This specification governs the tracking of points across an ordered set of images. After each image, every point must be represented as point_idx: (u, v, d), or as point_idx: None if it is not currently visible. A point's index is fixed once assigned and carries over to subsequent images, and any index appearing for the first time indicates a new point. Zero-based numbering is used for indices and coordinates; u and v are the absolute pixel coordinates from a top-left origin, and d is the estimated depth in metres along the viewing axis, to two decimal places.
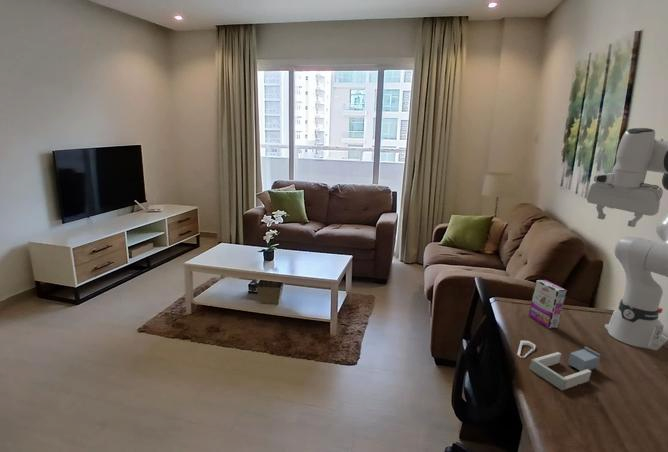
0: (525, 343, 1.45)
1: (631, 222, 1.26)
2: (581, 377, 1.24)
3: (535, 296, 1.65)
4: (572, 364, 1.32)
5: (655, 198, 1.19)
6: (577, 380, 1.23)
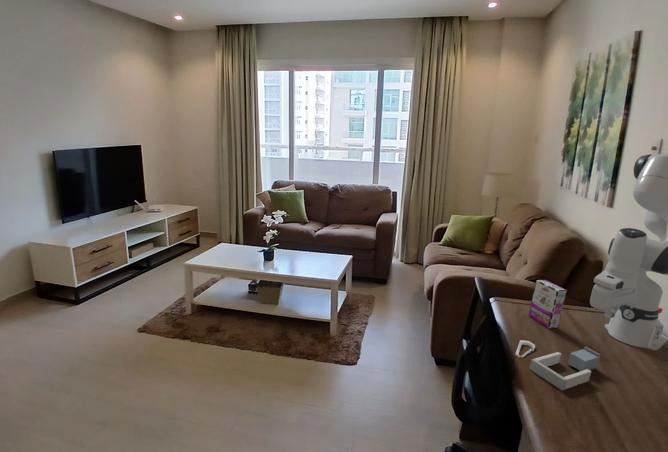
0: (524, 343, 1.45)
1: (614, 314, 1.32)
2: (581, 377, 1.24)
3: (535, 296, 1.65)
4: (572, 364, 1.32)
5: None
6: (577, 380, 1.23)
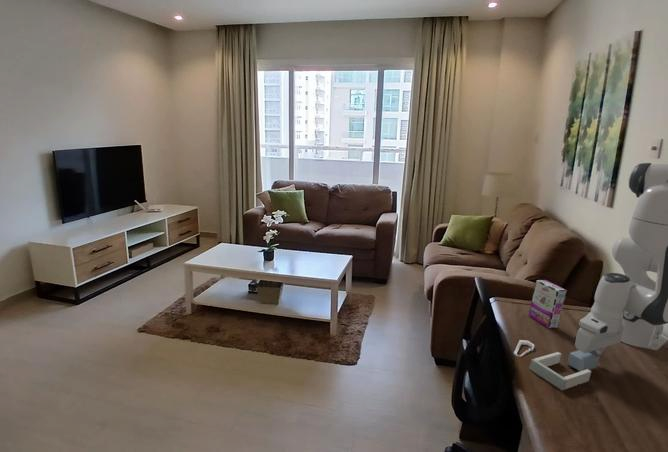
0: (524, 343, 1.45)
1: None
2: (581, 377, 1.24)
3: (535, 296, 1.65)
4: (571, 364, 1.32)
5: None
6: (577, 380, 1.23)
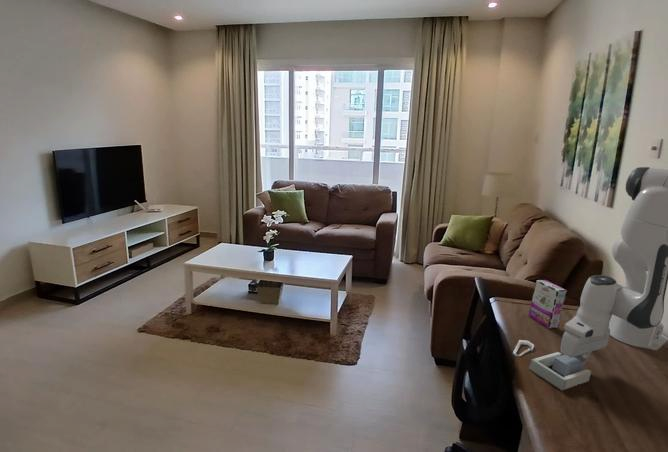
0: (524, 343, 1.45)
1: None
2: (581, 377, 1.24)
3: (535, 296, 1.65)
4: (556, 369, 1.29)
5: None
6: (577, 380, 1.23)
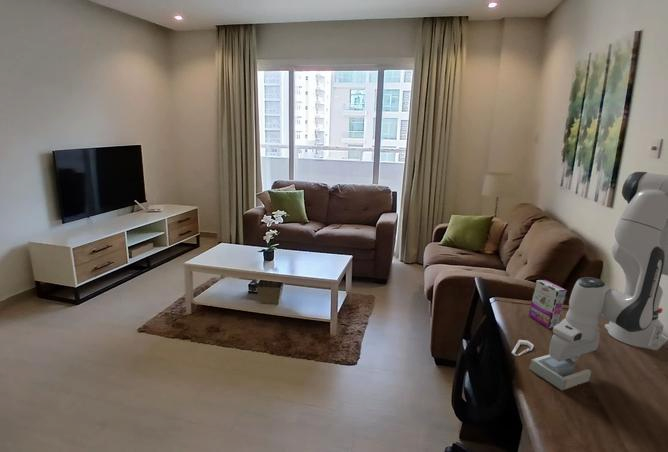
0: (523, 342, 1.45)
1: None
2: (581, 377, 1.24)
3: (535, 296, 1.65)
4: None
5: None
6: (577, 380, 1.23)
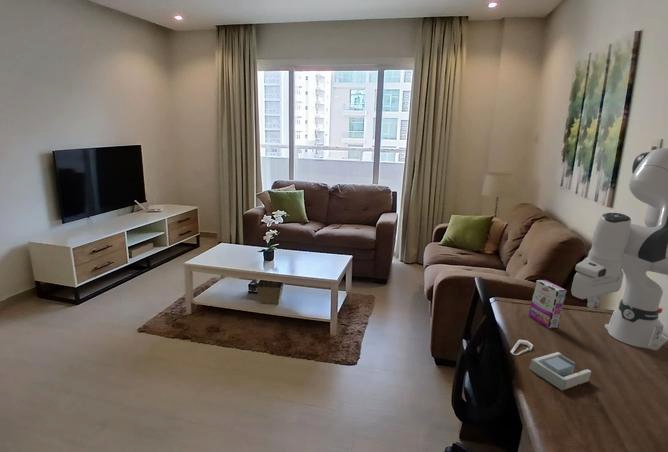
0: (523, 342, 1.45)
1: (597, 303, 1.26)
2: (581, 377, 1.24)
3: (535, 296, 1.65)
4: None
5: None
6: (577, 380, 1.23)
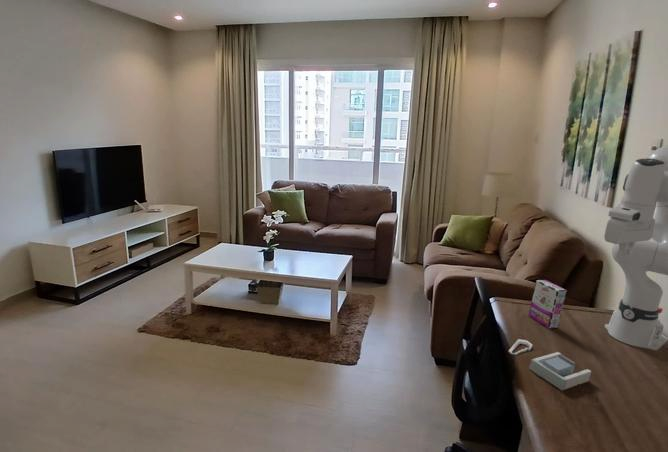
0: (522, 342, 1.45)
1: (629, 251, 1.26)
2: (581, 377, 1.24)
3: (535, 296, 1.65)
4: None
5: None
6: (577, 380, 1.23)
